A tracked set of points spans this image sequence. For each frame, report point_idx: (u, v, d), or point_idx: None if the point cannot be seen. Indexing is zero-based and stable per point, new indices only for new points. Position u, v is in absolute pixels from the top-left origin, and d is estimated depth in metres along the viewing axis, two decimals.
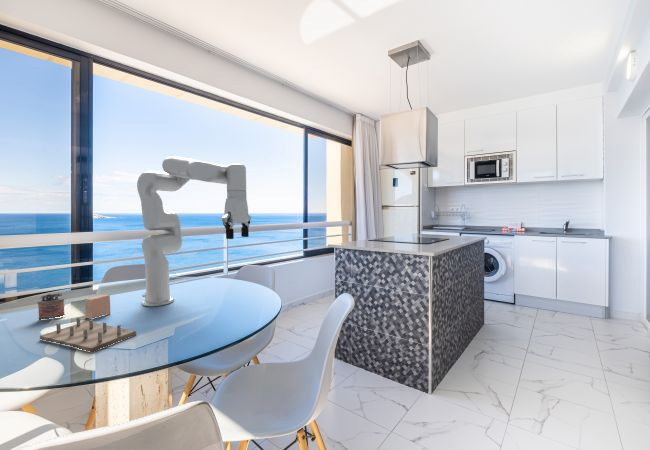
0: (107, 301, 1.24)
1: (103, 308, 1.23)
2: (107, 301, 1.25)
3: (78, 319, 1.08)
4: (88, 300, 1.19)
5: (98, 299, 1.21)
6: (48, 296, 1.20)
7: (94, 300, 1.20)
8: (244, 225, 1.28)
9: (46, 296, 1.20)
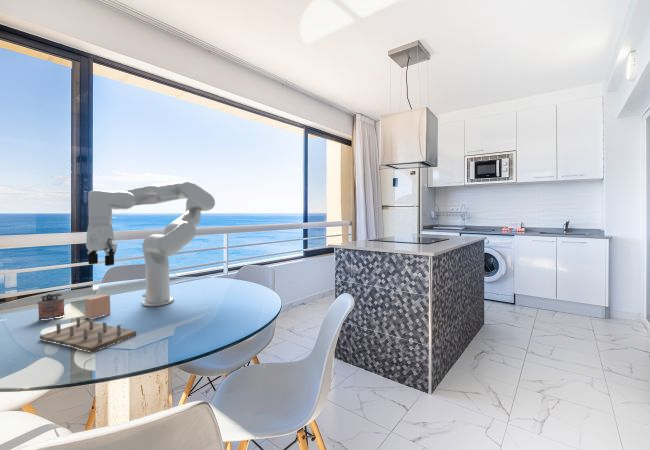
0: (107, 301, 1.25)
1: (103, 308, 1.23)
2: (107, 301, 1.25)
3: (78, 319, 1.08)
4: (88, 300, 1.19)
5: (98, 299, 1.21)
6: (48, 296, 1.20)
7: (94, 300, 1.20)
8: (92, 252, 1.23)
9: (46, 296, 1.20)
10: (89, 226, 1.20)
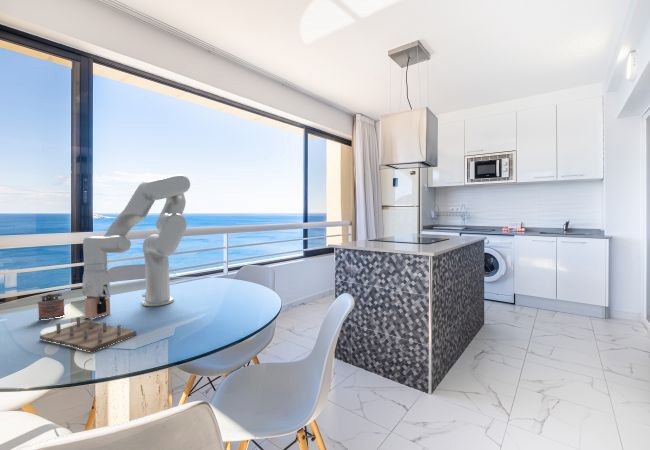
0: (107, 301, 1.24)
1: None
2: (107, 301, 1.24)
3: (78, 319, 1.08)
4: (88, 300, 1.19)
5: None
6: (48, 296, 1.20)
7: (94, 300, 1.20)
8: None
9: (46, 296, 1.20)
10: (85, 272, 1.21)
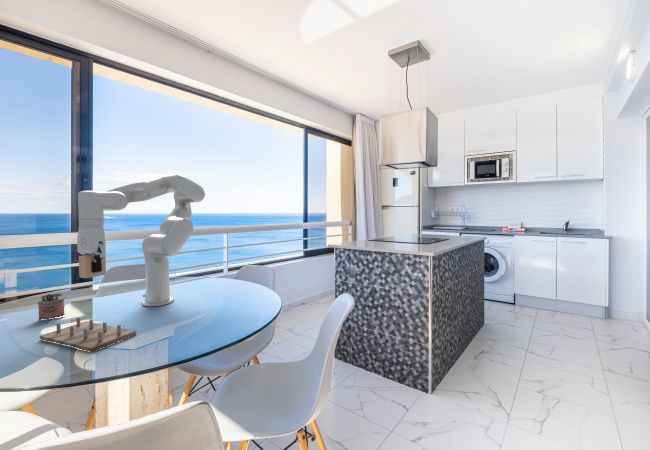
0: (102, 260, 1.18)
1: None
2: (102, 260, 1.18)
3: (78, 319, 1.08)
4: (82, 257, 1.13)
5: None
6: (48, 296, 1.20)
7: (88, 257, 1.13)
8: None
9: (46, 296, 1.20)
10: (80, 228, 1.15)
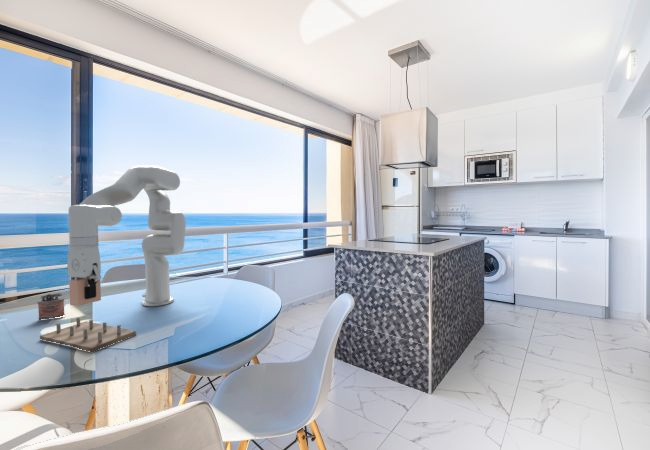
0: (97, 284, 1.03)
1: None
2: (97, 284, 1.03)
3: (78, 319, 1.08)
4: (73, 281, 0.98)
5: None
6: (48, 296, 1.20)
7: (81, 282, 0.98)
8: None
9: (46, 296, 1.20)
10: (70, 248, 0.99)
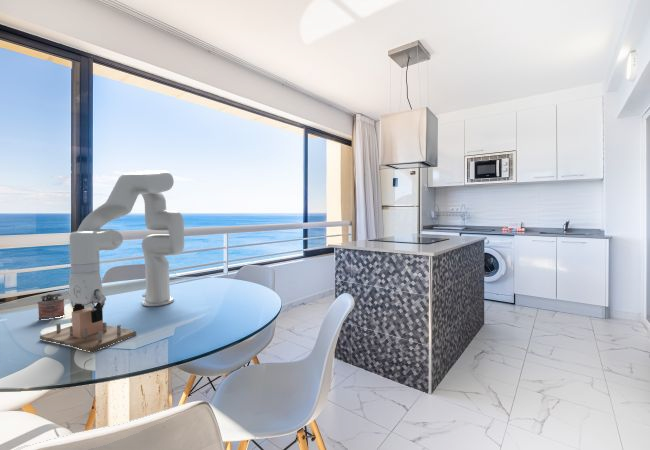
0: None
1: (94, 323, 1.02)
2: None
3: None
4: (76, 314, 0.99)
5: (88, 313, 1.00)
6: (48, 296, 1.20)
7: (83, 314, 0.99)
8: (77, 304, 1.03)
9: (46, 296, 1.20)
10: (72, 274, 1.00)
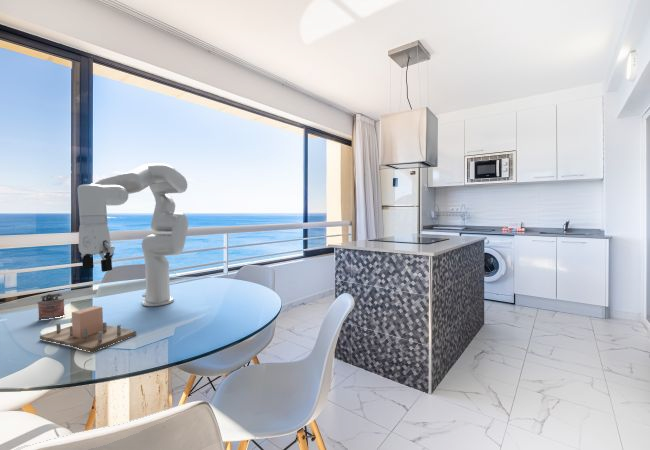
0: (99, 315, 1.04)
1: (94, 323, 1.02)
2: (99, 315, 1.04)
3: None
4: (76, 314, 0.99)
5: (88, 313, 1.00)
6: (48, 296, 1.20)
7: (83, 314, 0.99)
8: (86, 255, 1.07)
9: (46, 296, 1.20)
10: (81, 226, 1.04)
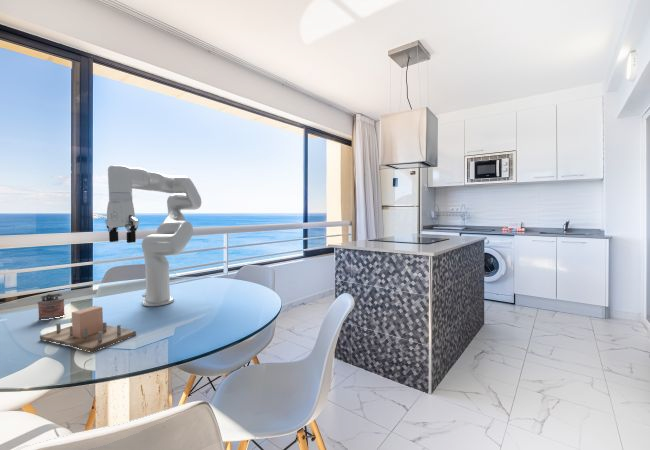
0: (99, 315, 1.04)
1: (94, 323, 1.02)
2: (99, 315, 1.04)
3: None
4: (76, 314, 0.99)
5: (88, 313, 1.00)
6: (48, 296, 1.20)
7: (83, 314, 0.99)
8: (112, 229, 1.20)
9: (46, 296, 1.20)
10: (109, 202, 1.17)
